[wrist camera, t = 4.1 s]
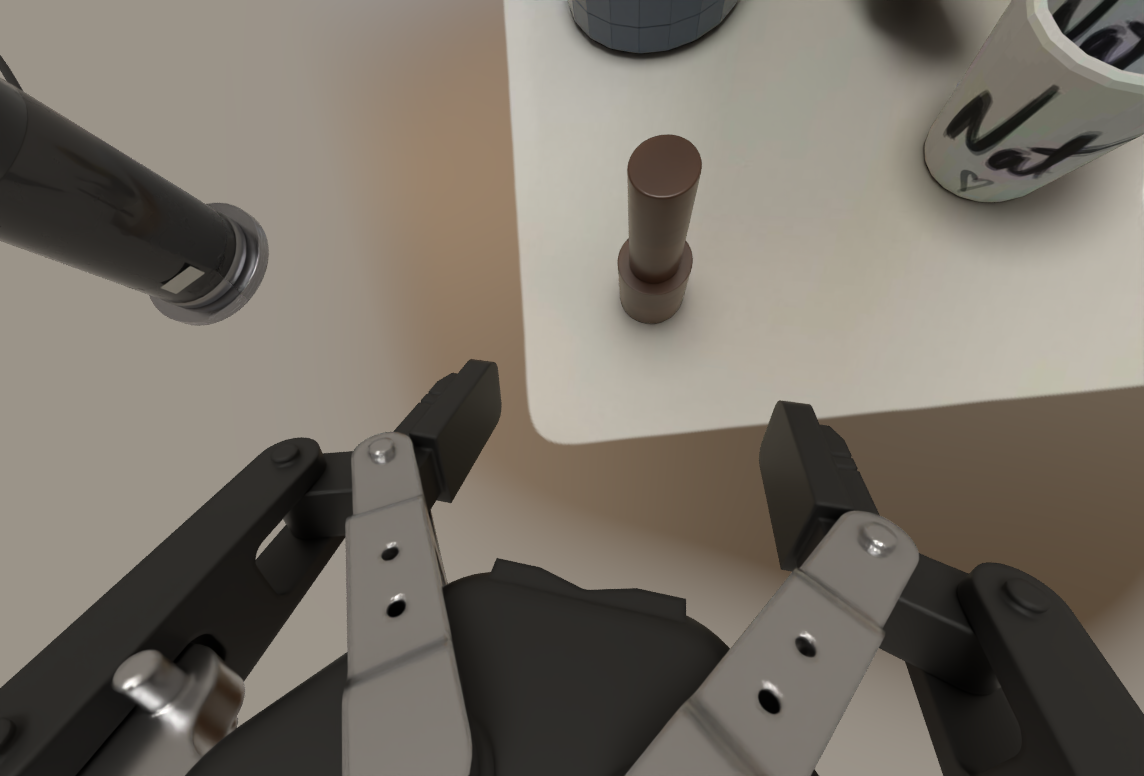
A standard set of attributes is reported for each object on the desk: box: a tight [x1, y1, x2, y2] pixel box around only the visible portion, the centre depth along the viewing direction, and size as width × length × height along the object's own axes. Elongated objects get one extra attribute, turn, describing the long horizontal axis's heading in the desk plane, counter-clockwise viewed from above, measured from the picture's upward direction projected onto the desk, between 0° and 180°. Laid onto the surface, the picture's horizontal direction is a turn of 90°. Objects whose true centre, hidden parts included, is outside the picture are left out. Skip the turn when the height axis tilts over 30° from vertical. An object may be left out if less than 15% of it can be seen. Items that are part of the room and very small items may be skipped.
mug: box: [925, 0, 1144, 202], centre depth 23 cm, size 10×15×10 cm
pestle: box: [618, 135, 702, 324], centre depth 23 cm, size 4×4×13 cm
